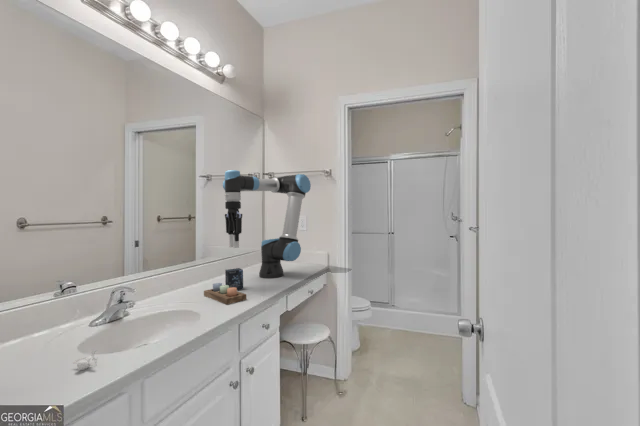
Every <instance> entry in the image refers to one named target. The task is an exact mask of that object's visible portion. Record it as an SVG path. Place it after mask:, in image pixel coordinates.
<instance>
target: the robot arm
mask: <svg viewBox="0 0 640 426" xmlns="http://www.w3.org/2000/svg"><path fill="white" fill-rule="evenodd" d="M311 185H312V184H311V180H310V178H309V177H308V176H307V175H306V174H302V173H300V174H299V173H298V174H290V175H284V176H278V177H272V178H258V177H257V176H253V175H251V176H250V175H242V174H241V171H240V170H237V169H231V170H230V169H229V170H226V171H225V172H224V180H223V182H222V188H223V190H224V191H225V192H224V193H225V194H224V197H225V198H224V199H225V204H224V205H225V206H224V207H225V209H226V210H227V213H225V214H224V218H225V230H226V231H225V232H226V234H228V245H229V247H228V248H233V249H238V248H240V235H241V234H242V232H243V231H242V230H243V229H242V226H243V225H242V224H243V223H242V222H243V213H240V210H241V209H242V203H241V201H242V199H241V198H242V197H241V193H242V192H272V193H274V194H275V193H277V194H286V195H287V196H288V199H287V204H286V211H285V216H284V217H285V218H284V222H283V223H284V224H283V230H282V235H280V236H279V237H278V238H272V239H271V238H270V239H263V240H262V241H261V245H260V249H261V251H260V252H261V253H260V254H261V265H260V269H259V272H258V275H259V276H258V277H260V278H263V279H274V278H281V277H284V270H283V267H282V263H281V261H285V262H293V261H296V260H297V259H298V258H299V257H300V255H301V252H302V246H301V244H300V243H299V239H298V237H297V234H298V230H299V229H298V228H299V223H300V216H301V211H302V210H301V209H302V203H303V199H304V198H306V193H309V192H310V190H311Z"/></svg>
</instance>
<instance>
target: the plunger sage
mask: <svg viewBox="0 0 640 426" xmlns="http://www.w3.org/2000/svg"><path fill="white" fill-rule="evenodd" d="M228 288H229V285H226V284H222V286H220V294H227V289H228Z"/></svg>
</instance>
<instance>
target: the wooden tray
mask: <svg viewBox="0 0 640 426" xmlns="http://www.w3.org/2000/svg"><path fill="white" fill-rule="evenodd" d="M203 296H204V297H206V298H209V299H210V300H214V301H216V302H218V303H221V304H224V305H230V304H235V303H238V302H243V301H247V293H244V292H241V291H239V290H237V296H233V297H228V296H227V294H220V291H217V292H214V291H213V288H210V289H205V290H203Z"/></svg>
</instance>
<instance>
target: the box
mask: <svg viewBox="0 0 640 426" xmlns="http://www.w3.org/2000/svg"><path fill="white" fill-rule="evenodd" d="M224 270H225V273H224V274H225V278H224V280H225V281H224V282H225V284H224V285H229V288H231V287H236V288H237V291H241V290H244V270H243V268H241V267H236V268H230V269H224Z"/></svg>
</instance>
